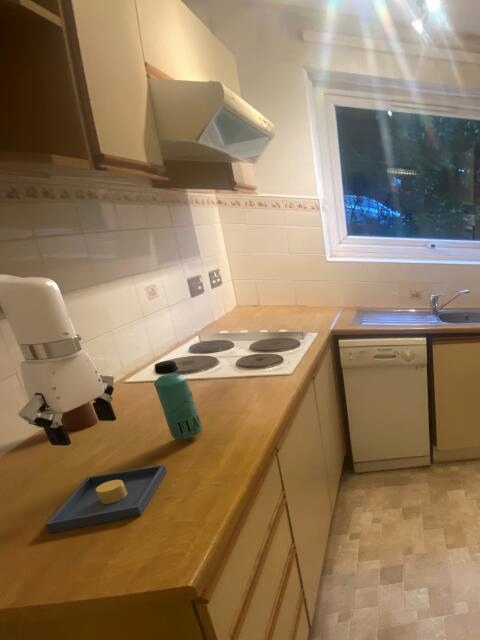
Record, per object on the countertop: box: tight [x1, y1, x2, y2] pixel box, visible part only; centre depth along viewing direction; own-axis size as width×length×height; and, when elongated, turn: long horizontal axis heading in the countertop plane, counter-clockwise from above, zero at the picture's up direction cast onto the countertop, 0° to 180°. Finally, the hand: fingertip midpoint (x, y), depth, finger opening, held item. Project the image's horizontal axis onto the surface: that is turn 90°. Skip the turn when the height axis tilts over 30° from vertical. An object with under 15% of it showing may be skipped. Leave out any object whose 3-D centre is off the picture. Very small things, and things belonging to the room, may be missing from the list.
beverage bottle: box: [153, 360, 203, 440], centre depth 103 cm, size 6×7×20 cm
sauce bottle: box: [60, 401, 99, 432], centre depth 110 cm, size 6×6×14 cm
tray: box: [45, 464, 168, 534], centre depth 85 cm, size 13×15×2 cm
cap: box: [96, 480, 128, 504], centre depth 84 cm, size 4×4×3 cm
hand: (86, 431), depth 84 cm, fingers open, 9 cm apart
